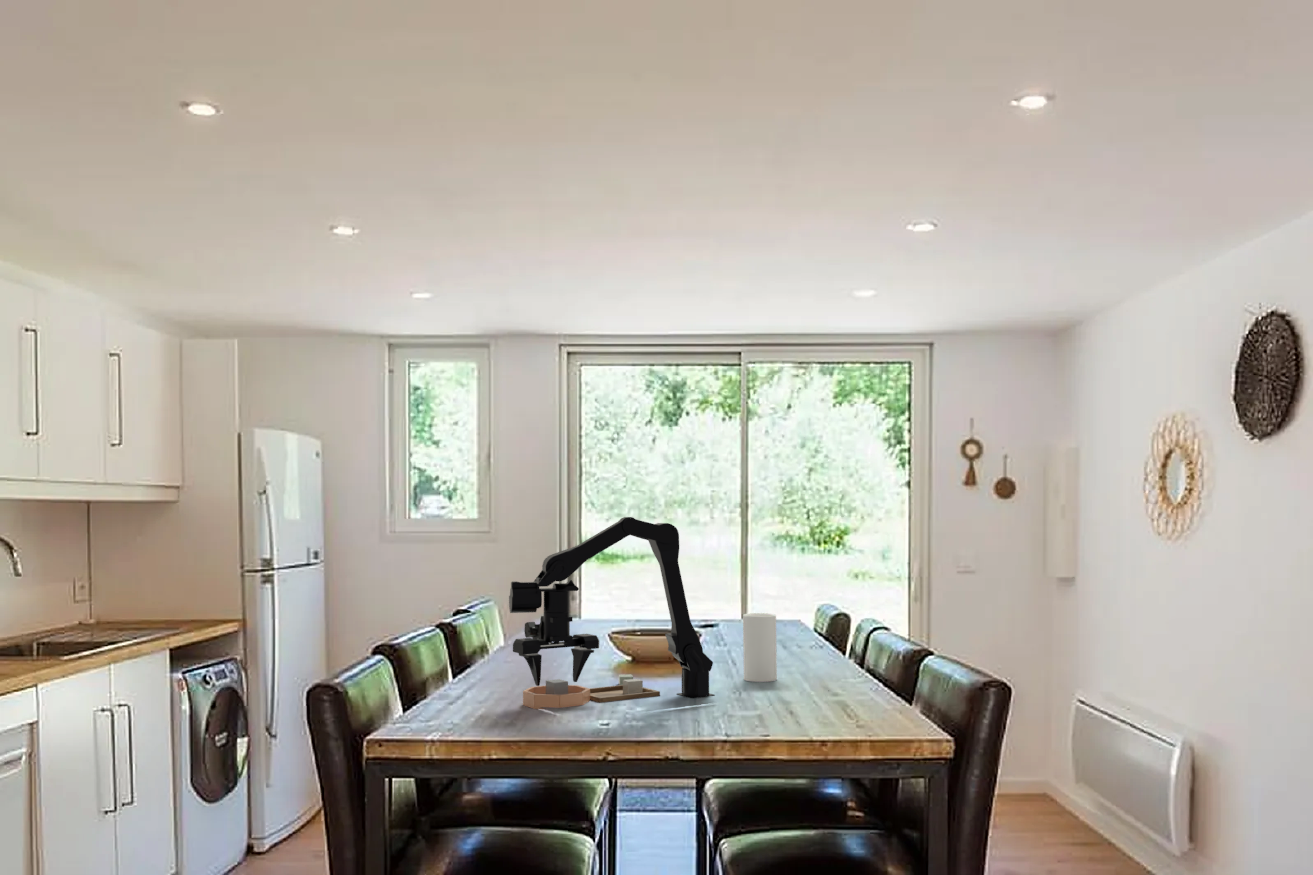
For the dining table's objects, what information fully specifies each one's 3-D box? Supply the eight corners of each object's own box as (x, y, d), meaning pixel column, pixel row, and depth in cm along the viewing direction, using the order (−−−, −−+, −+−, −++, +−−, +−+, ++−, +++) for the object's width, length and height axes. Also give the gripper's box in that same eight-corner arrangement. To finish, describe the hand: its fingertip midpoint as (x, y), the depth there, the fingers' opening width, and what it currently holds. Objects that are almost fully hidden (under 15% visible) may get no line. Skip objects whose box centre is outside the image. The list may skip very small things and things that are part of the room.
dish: (599, 705, 231) (599, 691, 232) (542, 711, 224) (542, 697, 224) (569, 696, 243) (569, 683, 243) (515, 702, 235) (515, 688, 236)
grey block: (568, 702, 233) (568, 681, 233) (554, 703, 231) (554, 683, 231) (559, 699, 236) (559, 679, 236) (545, 700, 234) (545, 680, 235)
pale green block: (633, 676, 254) (633, 688, 254) (631, 674, 258) (631, 686, 258) (619, 677, 254) (619, 688, 254) (618, 674, 258) (618, 686, 258)
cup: (740, 681, 264) (739, 615, 265) (747, 676, 272) (746, 612, 273) (773, 682, 261) (772, 616, 262) (779, 677, 269) (778, 613, 270)
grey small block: (637, 692, 245) (637, 678, 245) (642, 694, 242) (642, 680, 243) (622, 693, 244) (622, 679, 244) (628, 695, 241) (628, 681, 241)
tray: (659, 697, 240) (659, 691, 241) (599, 704, 232) (599, 698, 232) (630, 690, 251) (630, 684, 251) (572, 696, 243) (572, 690, 243)
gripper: (576, 607, 247) (576, 675, 246) (502, 611, 237) (501, 682, 235) (600, 610, 237) (600, 681, 236) (524, 615, 227) (524, 689, 226)
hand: (556, 683), depth 234 cm, fingers open, 9 cm apart
